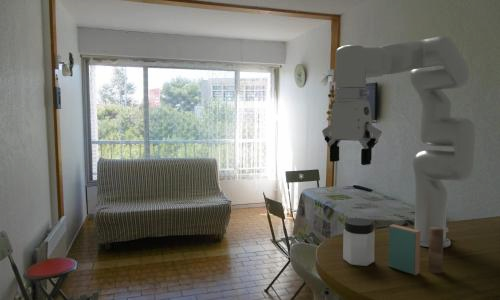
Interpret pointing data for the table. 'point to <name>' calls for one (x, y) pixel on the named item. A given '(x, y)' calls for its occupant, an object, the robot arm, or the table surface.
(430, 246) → the stick
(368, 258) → the jar
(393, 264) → the tile
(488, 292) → the table surface
